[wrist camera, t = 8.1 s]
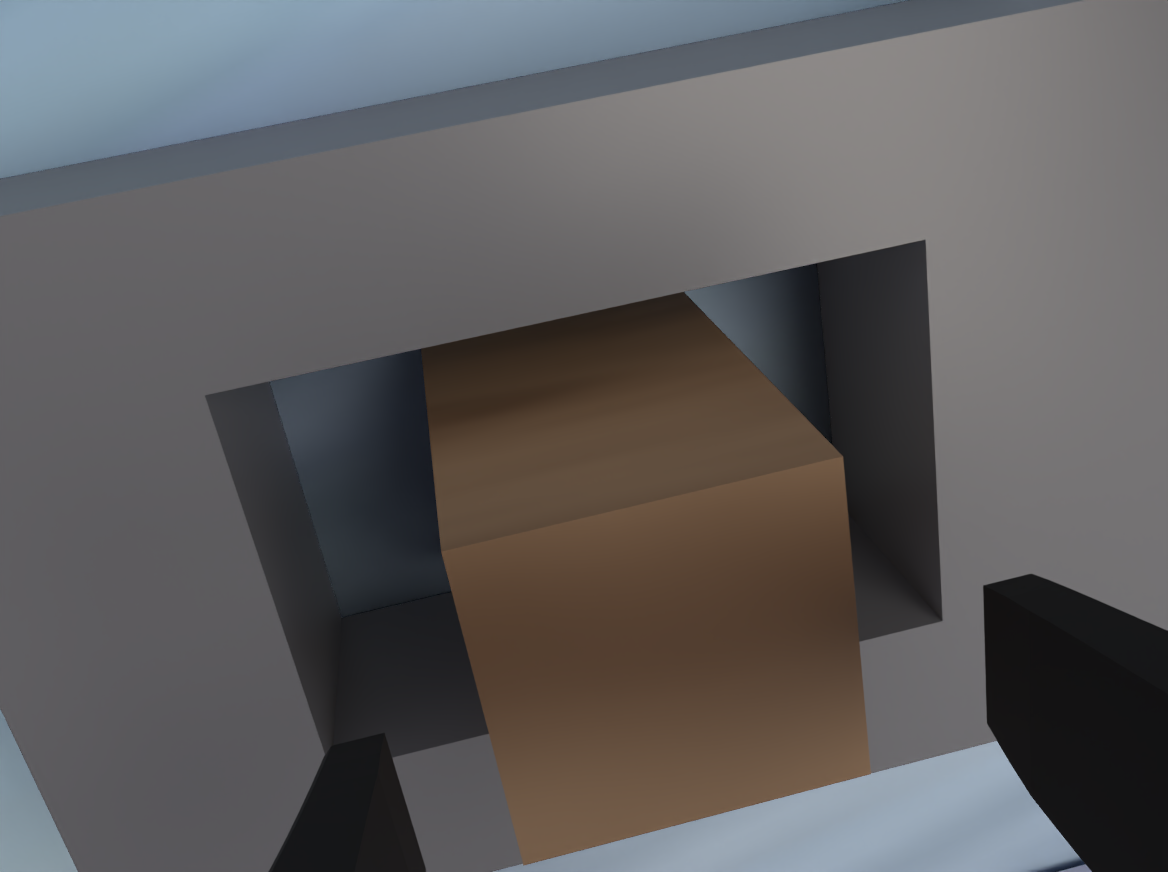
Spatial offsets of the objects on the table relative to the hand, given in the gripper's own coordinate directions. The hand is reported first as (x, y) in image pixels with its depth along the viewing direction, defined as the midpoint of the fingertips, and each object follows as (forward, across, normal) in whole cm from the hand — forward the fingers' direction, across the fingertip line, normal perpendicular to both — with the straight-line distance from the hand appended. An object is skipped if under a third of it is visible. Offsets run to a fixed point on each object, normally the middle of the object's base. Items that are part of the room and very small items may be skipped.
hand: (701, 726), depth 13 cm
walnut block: (+10, 0, 0) cm, 10 cm away
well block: (+10, 0, 0) cm, 10 cm away
